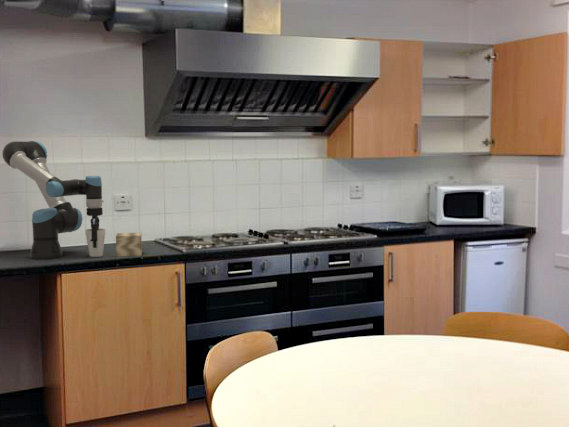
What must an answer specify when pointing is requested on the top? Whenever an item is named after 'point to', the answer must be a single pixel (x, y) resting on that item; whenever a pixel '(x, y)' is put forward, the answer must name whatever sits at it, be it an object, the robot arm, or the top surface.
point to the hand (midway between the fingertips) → (96, 252)
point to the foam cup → (100, 240)
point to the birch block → (128, 244)
